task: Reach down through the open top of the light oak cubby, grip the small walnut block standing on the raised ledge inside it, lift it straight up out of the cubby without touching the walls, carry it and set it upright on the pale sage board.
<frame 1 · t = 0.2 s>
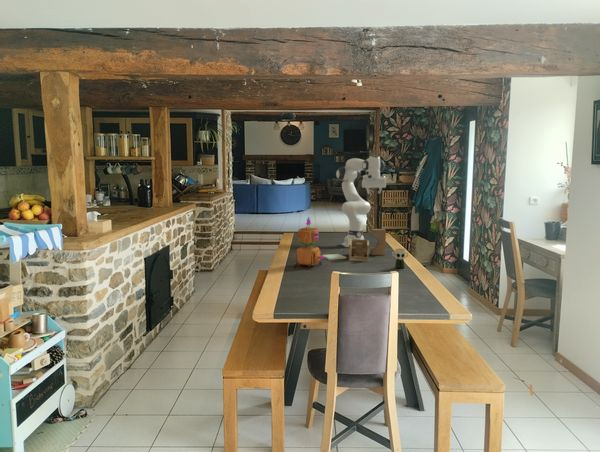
hand: (373, 193, 392), 48 cm above the table, tool pointing down, fingers open, 8 cm apart
walnut block: (359, 255, 377), point 2 cm above the table, touching oak cubby
sage board: (334, 257, 377), on the table
oak cubby: (358, 257, 377), on the table
character mug: (399, 268, 342), on the table
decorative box: (311, 266, 345), on the table
decorative block: (377, 254, 391), on the table
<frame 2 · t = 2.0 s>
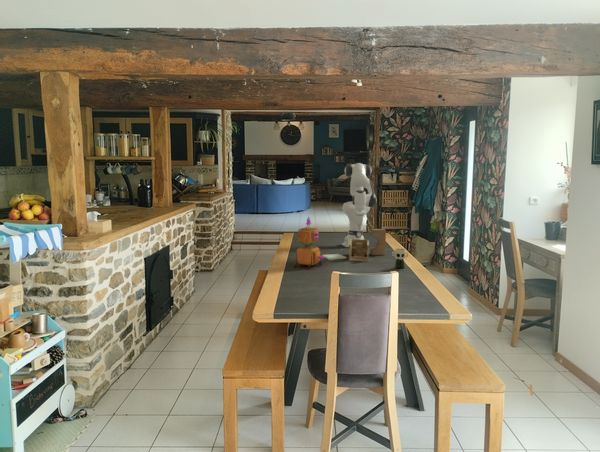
hand: (359, 230, 375), 21 cm above the table, tool pointing down, fingers open, 8 cm apart
nothing on the table moved.
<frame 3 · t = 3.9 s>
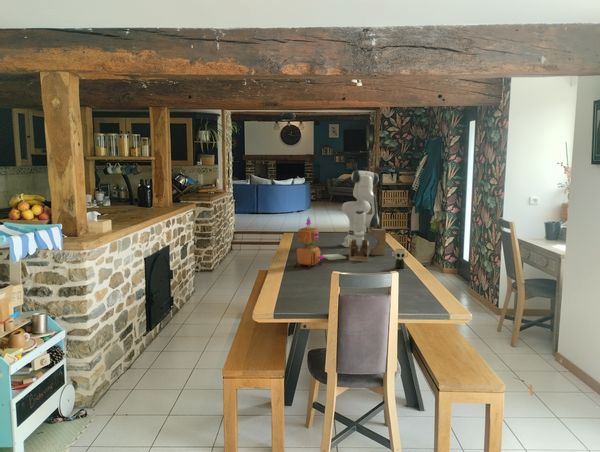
hand: (359, 250, 377), 6 cm above the table, tool pointing down, fingers closed on walnut block, 4 cm apart
walnut block: (359, 255, 377), point 2 cm above the table, touching gripper, oak cubby
everything else where it was.
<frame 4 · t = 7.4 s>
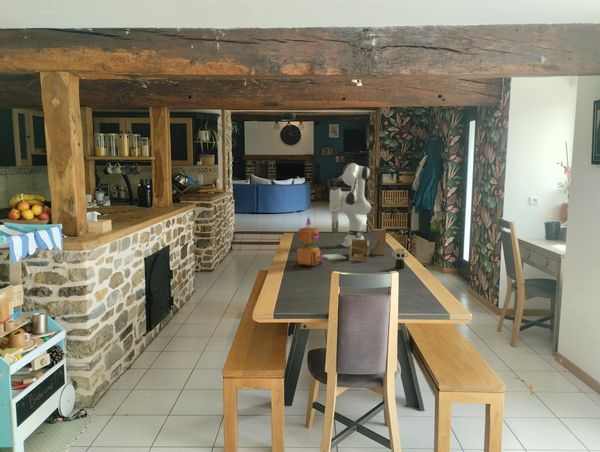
hand: (335, 227, 374), 23 cm above the table, tool pointing down, fingers closed on walnut block, 4 cm apart
walnut block: (335, 232, 374), point 20 cm above the table, touching gripper
everything else where it was.
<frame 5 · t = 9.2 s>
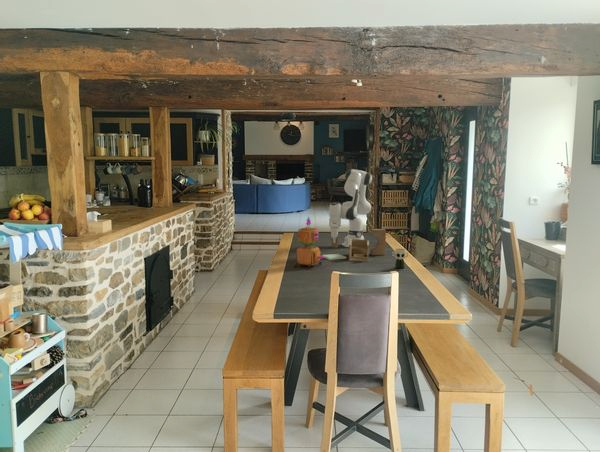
hand: (334, 242, 375), 12 cm above the table, tool pointing down, fingers closed on walnut block, 4 cm apart
walnut block: (334, 246, 375), point 8 cm above the table, touching gripper
everything else where it was.
when the fingers open (6 cm above the table, at t = 10.6 s): walnut block drops 1 cm, resting on sage board.
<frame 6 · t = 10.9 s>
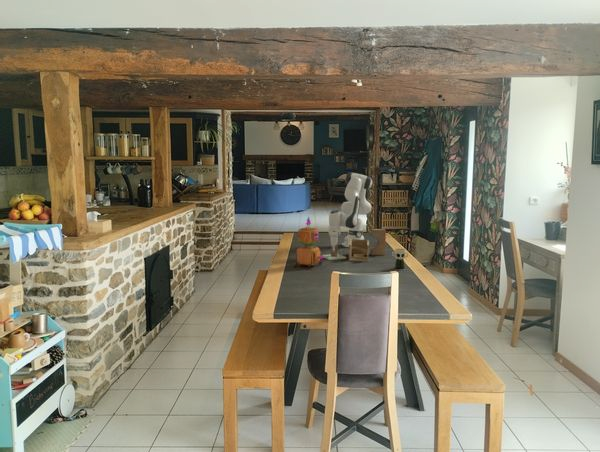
hand: (334, 250, 376), 6 cm above the table, tool pointing down, fingers open, 8 cm apart
walnut block: (334, 256, 377), point 1 cm above the table, touching sage board
everything else where it was.
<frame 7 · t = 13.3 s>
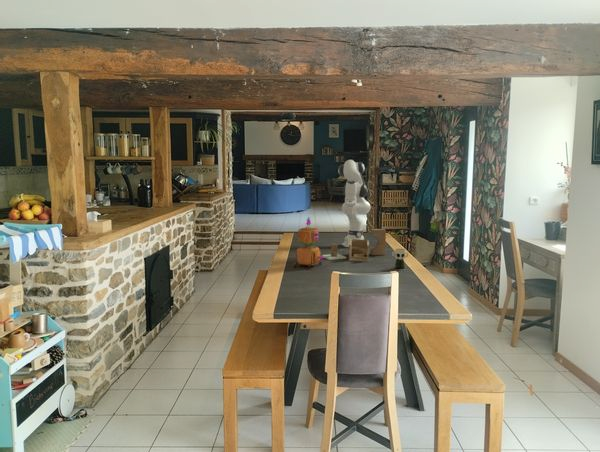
hand: (350, 220, 380), 28 cm above the table, tool pointing down, fingers open, 8 cm apart
nothing on the table moved.
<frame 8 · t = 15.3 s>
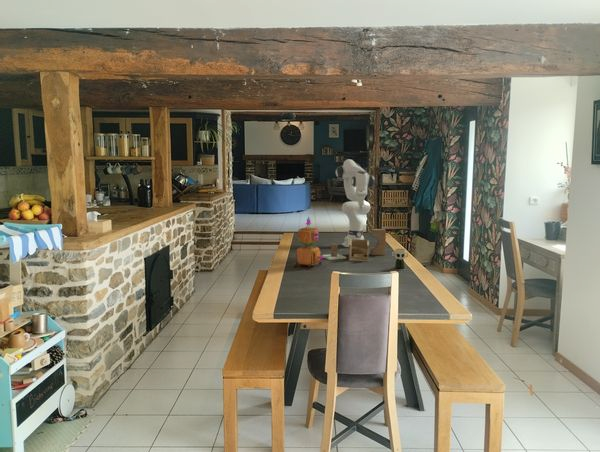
hand: (361, 210, 384), 35 cm above the table, tool pointing down, fingers open, 8 cm apart
nothing on the table moved.
at the end: walnut block inside the target area on the sage board (0.1 cm from its centre), point 1.2 cm above the sage board's base; walnut block tilted 0°; the gripper is holding nothing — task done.
